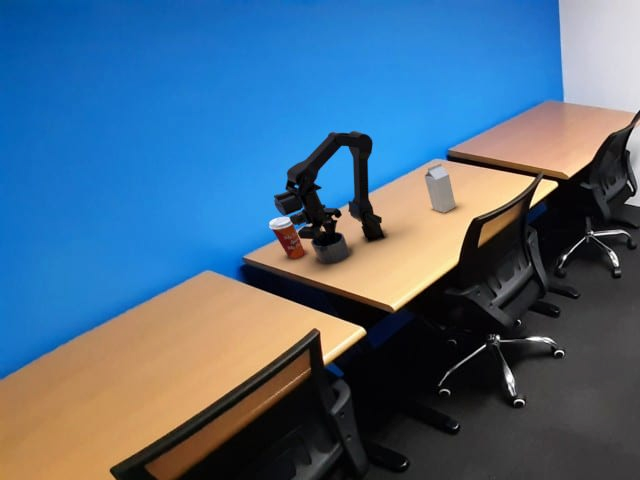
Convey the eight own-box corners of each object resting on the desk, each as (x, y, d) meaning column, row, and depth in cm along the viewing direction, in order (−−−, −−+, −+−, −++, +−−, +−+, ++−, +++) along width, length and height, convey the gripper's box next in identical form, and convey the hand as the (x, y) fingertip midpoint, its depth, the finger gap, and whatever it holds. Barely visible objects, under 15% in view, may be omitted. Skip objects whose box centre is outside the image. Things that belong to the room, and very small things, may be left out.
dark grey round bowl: (348, 245, 181) (341, 229, 177) (352, 258, 174) (345, 242, 169) (317, 252, 177) (309, 236, 173) (320, 266, 170) (312, 249, 165)
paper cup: (298, 260, 173) (281, 226, 164) (280, 258, 174) (262, 224, 165) (312, 250, 179) (296, 216, 169) (295, 248, 180) (278, 214, 170)
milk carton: (456, 207, 206) (446, 164, 193) (444, 213, 201) (433, 170, 189) (444, 203, 209) (434, 161, 196) (432, 209, 204) (421, 166, 192)
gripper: (305, 192, 169) (322, 230, 180) (274, 216, 156) (294, 256, 166) (334, 193, 169) (349, 232, 179) (305, 217, 155) (324, 257, 165)
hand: (329, 243), depth 172 cm, fingers open, 4 cm apart
